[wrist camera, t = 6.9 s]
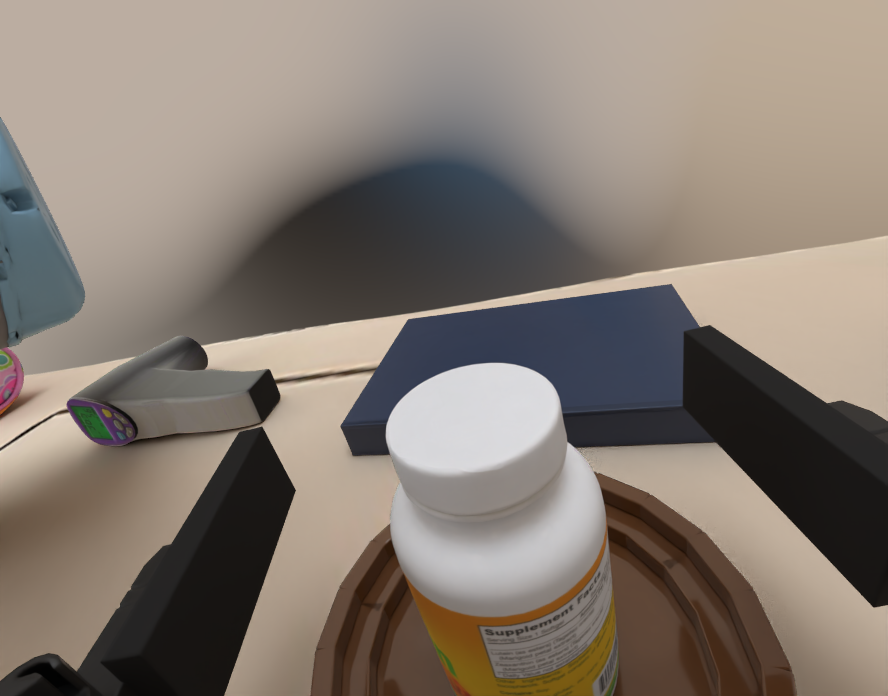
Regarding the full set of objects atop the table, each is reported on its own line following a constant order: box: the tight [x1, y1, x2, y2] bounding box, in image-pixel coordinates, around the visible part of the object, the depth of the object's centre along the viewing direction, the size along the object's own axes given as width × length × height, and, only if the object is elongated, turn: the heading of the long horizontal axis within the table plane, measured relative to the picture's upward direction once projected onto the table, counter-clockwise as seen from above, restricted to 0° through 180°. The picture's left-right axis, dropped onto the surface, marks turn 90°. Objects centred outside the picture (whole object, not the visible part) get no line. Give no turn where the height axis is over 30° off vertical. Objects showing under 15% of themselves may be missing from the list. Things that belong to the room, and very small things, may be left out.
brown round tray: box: [310, 472, 797, 696], centre depth 14 cm, size 13×13×2 cm
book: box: [341, 284, 716, 455], centre depth 28 cm, size 20×14×2 cm
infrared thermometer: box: [67, 336, 280, 446], centre depth 36 cm, size 5×12×15 cm
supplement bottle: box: [386, 363, 619, 696], centre depth 12 cm, size 5×5×10 cm
